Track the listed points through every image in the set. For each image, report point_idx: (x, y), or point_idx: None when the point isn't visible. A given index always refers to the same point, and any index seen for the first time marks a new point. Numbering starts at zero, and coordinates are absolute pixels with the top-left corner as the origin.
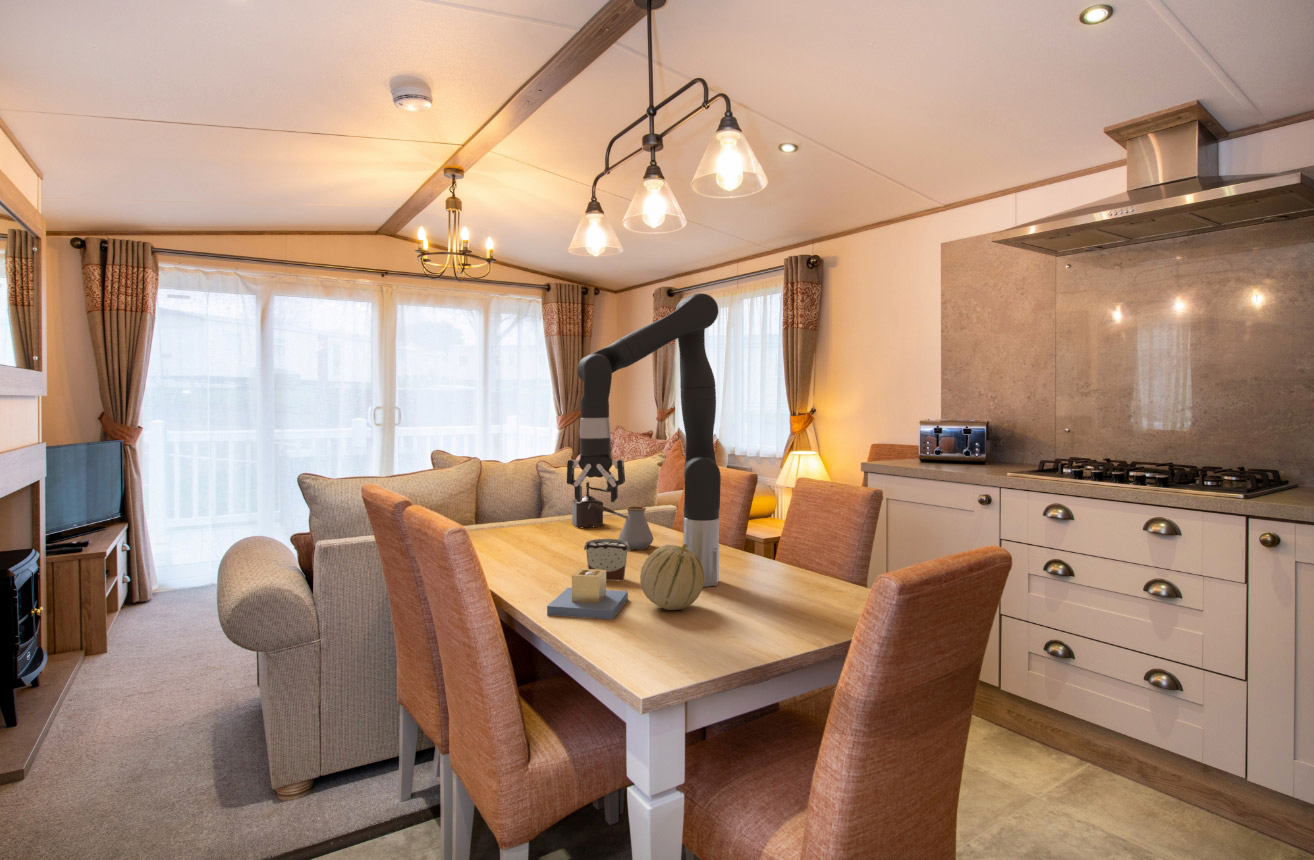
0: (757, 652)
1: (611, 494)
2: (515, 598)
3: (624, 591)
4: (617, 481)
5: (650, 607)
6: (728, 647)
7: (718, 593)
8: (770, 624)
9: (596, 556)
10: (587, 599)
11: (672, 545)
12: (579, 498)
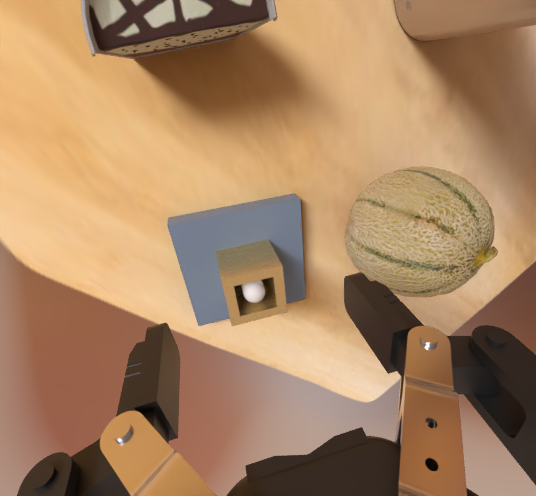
0: (465, 304)
1: (368, 337)
2: (76, 274)
3: (294, 204)
4: (457, 388)
5: (343, 219)
6: (440, 305)
7: (462, 80)
8: (502, 220)
9: (148, 46)
10: None
11: (464, 262)
12: (178, 370)
